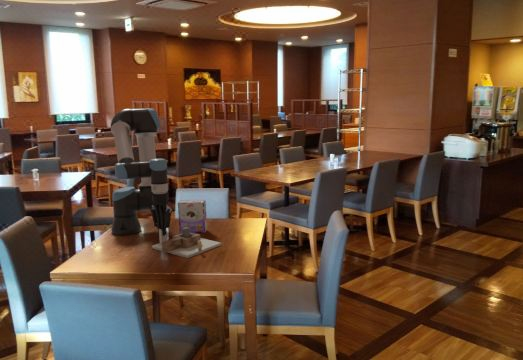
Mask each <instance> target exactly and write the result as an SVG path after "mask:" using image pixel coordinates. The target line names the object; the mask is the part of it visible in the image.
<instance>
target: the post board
mask: <svg viewBox="0 0 523 360" xmlns="http://www.w3.org/2000/svg"><path fill="white" fill-rule="evenodd" d="M182 237H185V238H187V237H190V228H189V227H184V228H182ZM221 246H222V242H219V241H215V240H212V239H211V240H210V239H207V238H203V237H200V241H198V244H196V245H193V246H190V247H188V248H184V247H180V248H177V249H174V250H171V251H168V252H165V251H162V243H160V242H159V243H156V244H153V245H151V249H154V250H156V251H160V252H164V253H168V254H172V255H175V256H179V257H181V258H186V259H189V258H191V257H194V256H196V255H199V254H201V253H205V252H207V251H209V250H213V249H216V248H218V247H221Z"/></svg>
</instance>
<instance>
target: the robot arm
mask: <svg viewBox="0 0 523 360" xmlns="http://www.w3.org/2000/svg"><path fill="white" fill-rule="evenodd" d="M160 126H161V125H160V119H159V116H158V112H157V111H156V109H155V108H149V107H148V108H147V107H144V108H143V107H141V108H139V107H138V108H124V109H121V110H119V111H118V112H117V113H115V115H114V116H113V117H112V119H111V121H110V132H111V134H112V135H113V138H114V144H115V152H116V157H117V158H116V159H117V163H115V164H114V174H115V178H116V179H117V180H133V179H140V181H141V182H140V183H139V185H138V188H137V189H136V188H135V186H125V187H120V188H117V189H115V190H114V191H113V192H112V194H111V195H112V198H111V199H112V207H113V221H112V226H111V228H110V229H111V230H110V231H111V234H112V235H115V236H127V235H128V236H129V235H134V234H137V233H139V232H141V231H142V226H141V223H140V220H139V218H138V213H137V212H143V211H150V212H151V218H152V222H153V225H154V227H156V228H157V233H158V237H159V243H162V242H164V241H167V228H168V229H169V228H170V225H171V218H172V212H173V210H174V208H173V207H170V206H169V200H170V198H169V197H170V196H169V192H168V191H169V183H168V182H169V181H168V165H167V164H168V163H167V159H165V158H157V155H156V153H157V152H156V142H155V141H156V140H155V136H156V135H157V134H158V132H157V131H159V130H160V128H161V127H160ZM131 132H134V135H135V136H136V137H137V143H138V157H139V161H135V157H134V151H133V146H132V142H131V141H132V139H131V136H130V133H131Z"/></svg>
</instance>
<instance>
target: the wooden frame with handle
mask: <svg viewBox="0 0 523 360" xmlns="http://www.w3.org/2000/svg"><path fill="white" fill-rule="evenodd" d="M171 237H172V238H171V239H166V241H164V242H162V251H161V252H164V251H165V252H164V253H167V252H168V251H171V250H174V249H177V248H180V247H184V248H188V247H190V246H193V245H196V244H198V241H200V238H201V234H199V233H190V237H187V238H185V237H182V233H177V234H176V235H173V236H171Z"/></svg>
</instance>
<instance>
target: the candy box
mask: <svg viewBox="0 0 523 360" xmlns="http://www.w3.org/2000/svg"><path fill="white" fill-rule="evenodd" d="M177 209H178V210H177V212H178V214H177V215H178V226H179V231H178V232H179V233H178V234H181V233H182V228H184V227H189V228H190V233H195V234H199V233H200V234H202V233H205V234H206V232H207V230H208V225H207V224H208V222H207V221H208V220H207V204H206V200H203V199H201V200H200V199H198V200H197V199H196V200H191V199H189V200H180V201H178V202H177Z"/></svg>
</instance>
